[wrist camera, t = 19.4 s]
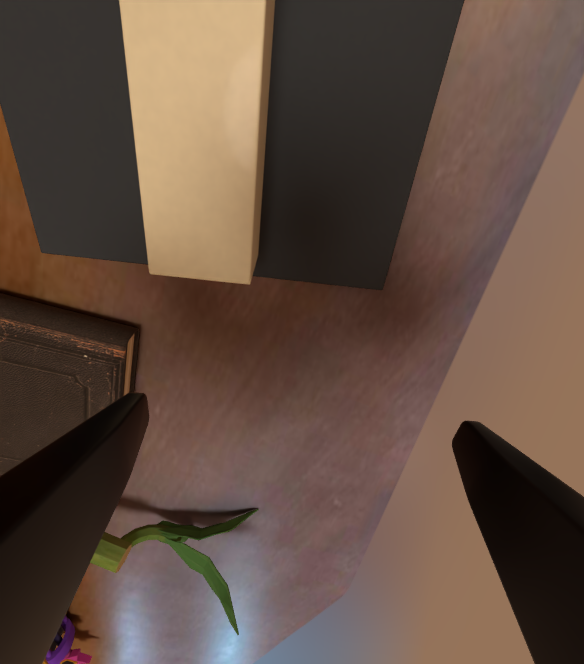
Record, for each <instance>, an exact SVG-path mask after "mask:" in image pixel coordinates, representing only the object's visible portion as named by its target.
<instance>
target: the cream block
mask: <svg viewBox="0 0 584 664" xmlns="http://www.w3.org/2000/svg"><path fill="white" fill-rule="evenodd" d="M119 4H120V13H121V22H122V31H123V40H124V49H125V58H126V67H127V76H128V85H129V94H130V103H131V112H132V122H133V131H134V140H135V149H136V158H137V167H138V176H139V185H140V194H141V203H142V212H143V221H144V230H145V239H146V248H147V257H148V267H149V273H150V274H154V275H164V276H173V277H182V278H192V279H201V280H211V281H220V282H229V283H239V284H248V285H249V284H250V283H251V279H252V276H253V272H254V268H255V265H256V261H257V258H258V249H259V234H260V219H261V204H262V189H263V174H264V159H265V144H266V129H267V114H268V99H269V84H270V69H271V54H272V39H273V24H274V9H275V0H119Z"/></svg>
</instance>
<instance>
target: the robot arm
mask: <svg viewBox="0 0 584 664" xmlns="http://www.w3.org/2000/svg"><path fill="white" fill-rule="evenodd" d="M148 422H149V410H148V403H147V397H146V395H145V394H144V393H135V392H130V393H127V394H126V395H124V396H123V397H121V398H119V399H118V400H116V401H115V402H113V403H112V404H110V405H109V406H107V407H106V408H104V409H103V410H101V411H99V412H98V413H96V414H95V415H93V416H92V417H90V418H89V419H87V420H86V421H84V422H83V423H81V424H80V425H78V426H76V427H75V428H73V429H72V430H70V431H69V432H67V433H66V434H64V435H63V436H61V437H60V438H58V439H56V440H55V441H53V442H52V443H50V444H49V445H47V446H46V447H44V448H43V449H41V450H40V451H38V452H37V453H35V454H33V455H32V456H30V457H29V458H27V459H26V460H24V461H23V462H21V463H20V464H18V465H17V466H15V467H13V468H12V469H10V470H9V471H7V472H6V473H4V474H3V475H1V476H0V664H43V662H44V659H45V657H46V655H47V653H48V651H49V649H50V647H51V645H52V642H53V640H54V638H55V636H56V634H57V632H58V630H59V628H60V625H61V623H62V621H63V619H64V617H65V615H66V613H67V610H68V608H69V606H70V604H71V602H72V600H73V598H74V596H75V593H76V591H77V589H78V587H79V585H80V583H81V581H82V578H83V576H84V574H85V572H86V570H87V568H88V566H89V564H90V561H91V559H92V557H93V555H94V553H95V551H96V549H97V547H98V544H99V542H100V540H101V538H102V536H103V534H104V532H105V529H106V527H107V525H108V523H109V521H110V519H111V517H112V515H113V512H114V510H115V508H116V506H117V504H118V502H119V500H120V498H121V495H122V493H123V491H124V489H125V487H126V485H127V482H128V480H129V478H130V475H131V472H132V470H133V467H134V464H135V461H136V458H137V455H138V452H139V449H140V446H141V443H142V440H143V437H144V434H145V432H146V429H147V426H148ZM452 448H453V452H454V455H455V459H456V462H457V465H458V468H459V472H460V475H461V478H462V482H463V485H464V489H465V492H466V495H467V498H468V500H469V503H470V506H471V509H472V510H473V514H474V516H475V518H476V521H477V523H478V526H479V528H480V531H481V533H482V536H483V538H484V541H485V543H486V545H487V548H488V550H489V553H490V555H491V558H492V560H493V563H494V565H495V567H496V570H497V572H498V575H499V577H500V580H501V582H502V585H503V587H504V590H505V592H506V595H507V597H508V599H509V602H510V604H511V607H512V609H513V612H514V614H515V616H516V619H517V622H518V624H519V626H520V629H521V631H522V634H523V636H524V639H525V641H526V644H527V646H528V649H529V651H530V653H531V656H532V658H533V661H534V663H535V664H584V497H583V496H582V495H581V494H579V493H578V492H576V491H575V490H574V489H572V488H571V487H569V486H568V485H567V484H565V483H564V482H562V481H561V480H560V479H558V478H557V477H555V476H554V475H553V474H551V473H550V472H548V471H547V470H546V469H544V468H543V467H541V466H540V465H538V464H537V463H536V462H534V461H533V460H531V459H530V458H529V457H527V456H526V455H525V454H523V453H522V452H520V451H519V450H518V449H516V448H515V447H513V446H512V445H511V444H509V443H508V442H506V441H505V440H504V439H502V438H501V437H500V436H498V435H497V434H495V433H494V432H492V431H491V430H490V429H488V428H487V427H485V426H484V425H483V424H481V423H480V422H476V421H464V422H462V424H461V425H460V427H459V429H458V431H457V433H456V434H455V436H454V438H453V440H452Z"/></svg>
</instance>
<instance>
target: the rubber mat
mask: <svg viewBox="0 0 584 664" xmlns="http://www.w3.org/2000/svg"><path fill="white" fill-rule="evenodd" d="M463 3H464V0H275V9H274V24H273V39H272V54H271V69H270V84H269V99H268V114H267V129H266V144H265V159H264V174H263V189H262V204H261V219H260V234H259V249H258V258H257V261H256V265H255V268H254V272H253V276H257V277H266V278H275V279H285V280H294V281H303V282H312V283H321V284H330V285H339V286H348V287H357V288H366V289H376V290H383V286H384V283H385V279H386V276H387V272H388V269H389V265H390V262H391V258H392V255H393V251H394V248H395V244H396V240H397V237H398V233H399V230H400V226H401V223H402V219H403V216H404V212H405V209H406V205H407V201H408V198H409V194H410V191H411V187H412V184H413V180H414V177H415V173H416V170H417V166H418V162H419V159H420V155H421V152H422V148H423V145H424V141H425V138H426V134H427V131H428V127H429V123H430V120H431V116H432V113H433V109H434V106H435V102H436V99H437V95H438V92H439V88H440V84H441V81H442V77H443V74H444V70H445V67H446V63H447V60H448V56H449V53H450V49H451V45H452V42H453V38H454V35H455V31H456V28H457V24H458V21H459V17H460V14H461V10H462V7H463ZM0 104H1V108H2V112H3V115H4V119H5V122H6V126H7V130H8V133H9V137H10V141H11V144H12V148H13V151H14V155H15V159H16V162H17V166H18V169H19V173H20V177H21V180H22V184H23V188H24V191H25V195H26V198H27V202H28V206H29V209H30V213H31V217H32V220H33V224H34V227H35V231H36V235H37V238H38V242H39V245H40V249H41V252H42V253H48V254H57V255H66V256H75V257H84V258H93V259H103V260H112V261H121V262H130V263H139V264H148V257H147V248H146V239H145V230H144V221H143V212H142V203H141V194H140V185H139V176H138V167H137V158H136V149H135V140H134V131H133V122H132V112H131V103H130V94H129V85H128V76H127V67H126V58H125V49H124V40H123V31H122V22H121V13H120V4H119V0H0Z"/></svg>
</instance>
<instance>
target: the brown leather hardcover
mask: <svg viewBox="0 0 584 664" xmlns="http://www.w3.org/2000/svg"><path fill="white" fill-rule="evenodd" d="M139 335H140V332H139V330H138V328H135V327H131V326H127V325H123V324H119V323H115V322H111V321H107V320H103V319H99V318H96V317H92V316H88V315H84V314H80V313H76V312H72V311H68V310H64V309H60V308H57V307H53V306H49V305H45V304H41V303H37V302H33V301H29V300H25V299H21V298H18V297H14V296H10V295H6V294H2V293H0V476H1V475H3V474H4V473H6V472H7V471H9V470H10V469H12V468H13V467H15V466H17V465H18V464H20V463H21V462H23V461H24V460H26V459H27V458H29V457H30V456H32V455H33V454H35V453H37V452H38V451H40V450H41V449H43V448H44V447H46V446H47V445H49V444H50V443H52V442H53V441H55V440H56V439H58V438H60V437H61V436H63V435H64V434H66V433H67V432H69V431H70V430H72V429H73V428H75V427H76V426H78V425H80V424H81V423H83V422H84V421H86V420H87V419H89V418H90V417H92V416H93V415H95V414H96V413H98V412H99V411H101V410H103V409H104V408H106V407H107V406H109V405H110V404H112V403H113V402H115V401H116V400H118V399H119V398H121V397H123V396H124V395H126V394H127V393H130V392H134V385H135V375H136V365H137V355H138V345H139Z"/></svg>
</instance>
